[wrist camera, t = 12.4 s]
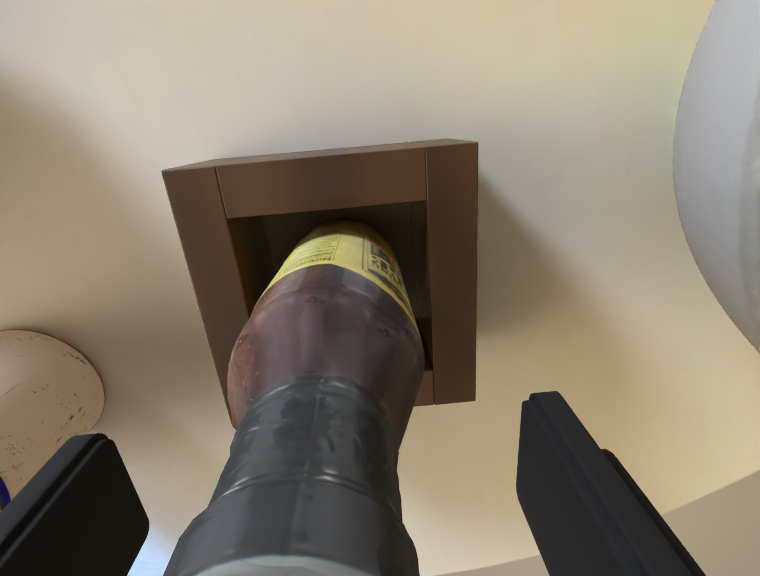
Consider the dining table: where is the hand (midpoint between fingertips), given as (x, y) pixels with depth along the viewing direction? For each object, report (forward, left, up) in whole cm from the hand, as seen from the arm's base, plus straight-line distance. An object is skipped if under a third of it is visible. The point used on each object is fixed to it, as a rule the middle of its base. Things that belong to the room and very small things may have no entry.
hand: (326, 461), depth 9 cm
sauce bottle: (0, 0, -16) cm, 16 cm away
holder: (0, 0, -16) cm, 16 cm away
